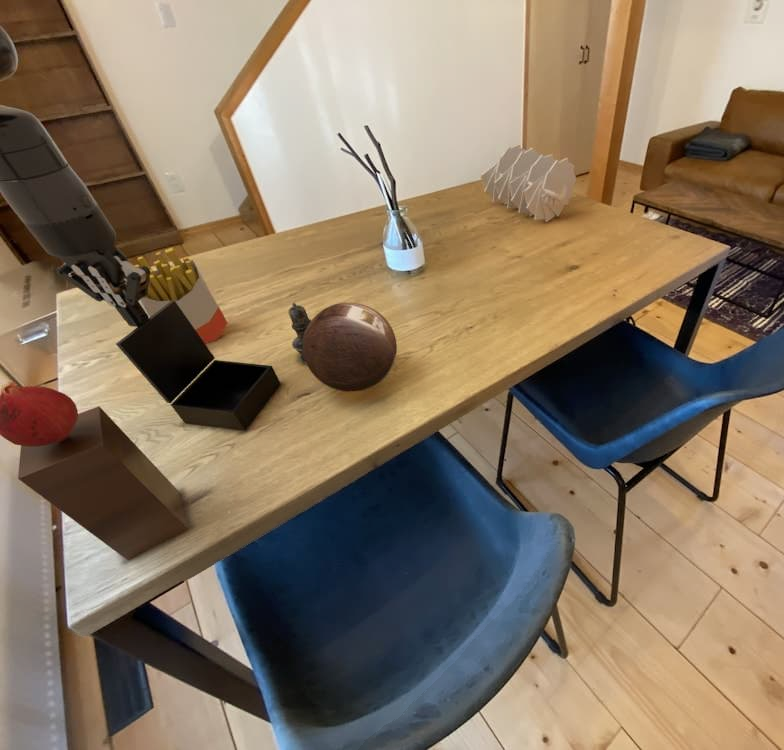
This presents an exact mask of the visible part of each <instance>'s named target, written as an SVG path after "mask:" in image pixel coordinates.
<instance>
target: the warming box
mask: <svg viewBox="0 0 784 750" xmlns="http://www.w3.org/2000/svg"><path fill="white" fill-rule="evenodd" d="M281 385H282V382H281V381H280V379H279V377H278V375H277V373H276V371H275V369H274V367H273V366H272V365H267V364H258V363H247V362H238V361H229V360H220V359H219V360H218V359H214V360H213V361H212V362H211V363H210V364H209V365H208V366H207V367H206V368H205V369H204V370H203V371H202V372H201V373H200V374H199V375H198V376H197V377H196V378H195V379H194V380H193V381H192V382H191V383H190V384H189V385H188V386H187V387H186V388H185V389H184V390H183V391H182V392H181V393H180V394H179V395H178V396H177V397H176V398H175V399H174V400H173V401H172V402H171V403H170V406H171V408H172V409H173V410H174V411H175V413H176V414H177V415H178V416H179V418H180V419H181V420H182V422H183V423H184V424H186V425H193V426H201V427H202V426H203V427H210V428H218V429H226V430H233V431H240V432H241V431H242V432H247V430H248V429H249V427H250V426H251V425H252V423H253V422H254V421H255V419H256V418H257V417H258V416H259V414H260V413H261V412H262V410H263V409H264V408H265V406H266V405H267V404H268V402H269V401H270V400H271V398H273V396H274V395H275V393H276V392H277V391H278V389H280V387H281Z"/></svg>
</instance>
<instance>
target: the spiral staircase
mask: <svg viewBox="0 0 784 750" xmlns="http://www.w3.org/2000/svg"><path fill="white" fill-rule="evenodd" d="M542 153H543V152H540V151H535V150H534V147H531V148H529V149H525V148H522V147H521V143H518V144H515V145H514V146H511V145H508V146H507V147H506V149H505V150H504V152H503V153H502V154H501V156H499V157H498V161H497V162H495V163H494V164H493V165H492V166H491V167H489V168H488V169H486V170H485V171H484V172H482V173H481V174H480V180H481V182H482V185H483V189H484V190H483V193H485V194H486V195H487V196H488V197H490V198H491V199H492V201H491V202H492V203H503V205H504V206H505V205H506V209H513V208H516V209H518V212H517V213H518V214H528V216H529V218H530V217H532V216H533V220H534V221H536V220H537V221H538V220H544V222H545V223H548V222H549V221H550V220H552V218H554V217H555V216H556V217H559V216H560V215H561V213H562V210H563V209H564V207H565V206H566V205H567V206H568V205H569V203H570V199H571V198H572V197H574V184H575V183H576V181H577V179H578V178H577V177H576V174H575V172H574V171H575V167H576V165H575V164H573V163H571V162H570V161H569V157H565V158H563V159H561V160H558V159H555V158H554V154H552V153H551V154H548V155H545V156H544V154H542Z"/></svg>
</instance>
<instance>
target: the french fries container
mask: <svg viewBox="0 0 784 750" xmlns="http://www.w3.org/2000/svg"><path fill="white" fill-rule="evenodd" d="M164 252H165V254H166V255H167V256H168V258H169V259H170V261H171V262H172V264H173V265H171V264H170V263H169V262H168V261H167V259H166V258H165V257H164V256H163V254H162V253H161V252H160V251H158V252H156V253H155V255H156V257H157V258H158V259H157V260H156V261H153V265H154V267H155V269H156V270H153V268H152V267H151V266H150V265H149V263H148V262H147V259H146V258H145V257H144V255H143V256H139V257H137V261H138V263H139V264H135V265H134V264H133V265H134V266H136V267H137V268H140V267H141V266H146V267H147V268H148V269H149V270H150V279H149V285H148V292H147V295H146V296H145V297H143V298H141V299H140V300H139V301H138V302H139V303H140V305H141V306H142V308H143V309H144V310H145V312H146V313H147V315H148V317H149V318H150V317H151V316H152V315H154V314H155V313H156V312H158V311H159V310H160V309H161V308H163V307H164V306H165V305H167V304H168V303H169V302H170V301H175V302H176V303H177V305H178V306H179V307H180V309H181V310H182V312H183V313H184V315H185V316H186V317H187V319H188V320H189V322H190V323H191V325H192V326H193V327H194V329H195V330H196V332H197V333H198V334H199V336H200V337H201V339H202V340H203V342H204V343H205V344H208V343H210V342H213V341H215V340H218V339H220V338H221V336H222V334H223V332H224V331H225V329H226V328H227V326H228V321H227V319H226V317H225V316H224V314H223V312H222V310H221V308H220V306H219V304H218V303H217V301H216V300H215V298H214V296H213V294H212V292H211V291H210V288H209V287H208V285H207V283H206V280H205V279H204V278H203V275H202V274H201V272H200V270H199V268H198V266H197V265H196V263H195V261H194V259H190V258H189V257H188V256H185V257H182V260H181V259H180V257H179V255H178V254H177V252H176V251H175V249H174V248H173V247H170V248H167V249H164Z"/></svg>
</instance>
